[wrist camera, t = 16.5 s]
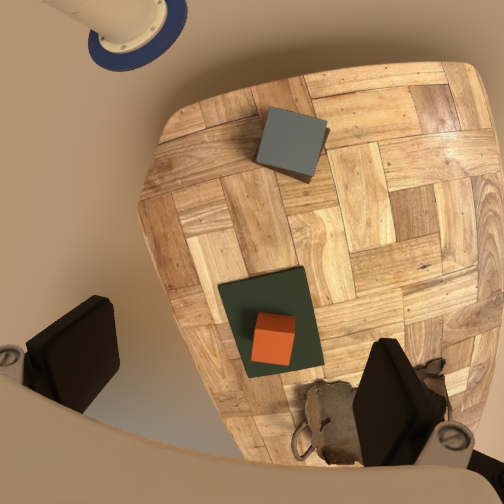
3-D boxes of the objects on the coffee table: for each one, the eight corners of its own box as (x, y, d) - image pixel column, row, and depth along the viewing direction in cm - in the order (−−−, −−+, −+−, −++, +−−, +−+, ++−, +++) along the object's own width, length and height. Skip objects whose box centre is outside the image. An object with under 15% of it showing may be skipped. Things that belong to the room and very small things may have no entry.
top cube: (255, 341, 43) (251, 360, 38) (258, 311, 42) (254, 328, 37) (289, 346, 42) (288, 365, 38) (294, 316, 41) (294, 333, 36)
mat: (218, 285, 42) (217, 286, 41) (303, 266, 40) (304, 267, 39) (249, 376, 45) (248, 378, 45) (324, 362, 43) (324, 365, 43)
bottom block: (255, 163, 37) (251, 161, 34) (274, 113, 35) (273, 106, 32) (306, 183, 37) (309, 184, 33) (326, 133, 35) (330, 128, 31)
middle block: (259, 163, 33) (255, 161, 30) (271, 114, 32) (269, 106, 28) (310, 176, 33) (313, 176, 29) (323, 127, 32) (327, 120, 28)
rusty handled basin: (428, 431, 45) (442, 465, 36) (295, 453, 49) (293, 491, 40) (450, 355, 41) (474, 389, 31) (289, 380, 45) (287, 424, 35)
